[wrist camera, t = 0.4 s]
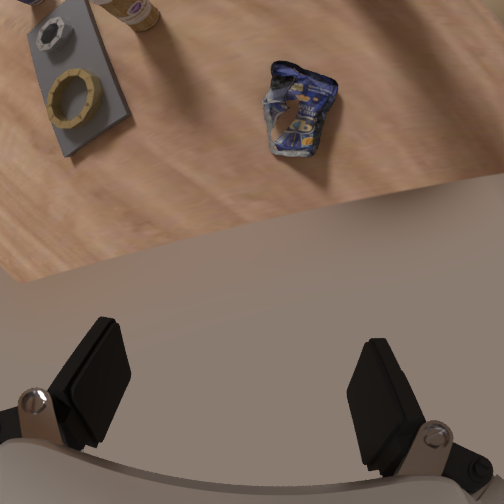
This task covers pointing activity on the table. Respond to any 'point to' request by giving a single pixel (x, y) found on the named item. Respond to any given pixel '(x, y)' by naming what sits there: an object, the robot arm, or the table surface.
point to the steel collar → (60, 39)
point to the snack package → (310, 107)
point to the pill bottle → (31, 2)
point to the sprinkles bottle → (132, 12)
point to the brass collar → (91, 103)
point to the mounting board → (74, 98)
